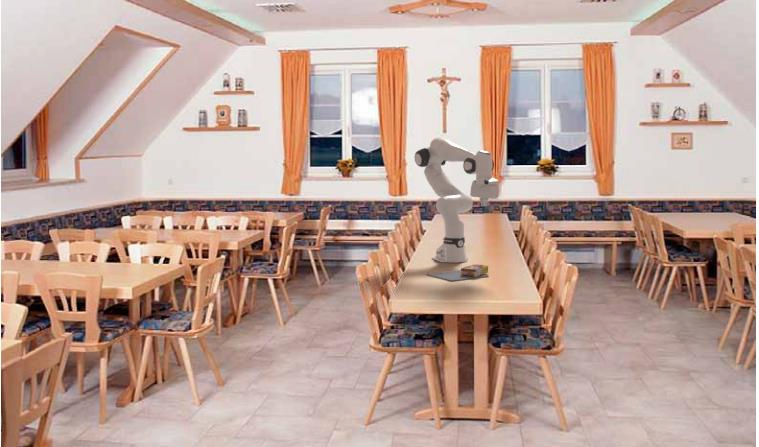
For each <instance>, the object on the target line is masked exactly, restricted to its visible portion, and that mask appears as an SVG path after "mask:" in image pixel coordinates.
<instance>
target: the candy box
mask: <svg viewBox="0 0 759 447" xmlns="http://www.w3.org/2000/svg"><path fill="white" fill-rule="evenodd" d="M460 270H461V276H471V277H477V276H480V275H487V274H488V273H489V265H486V264H475V263H473V264H470V265H467V266H464V267H461V268H460Z"/></svg>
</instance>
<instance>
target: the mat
mask: <svg viewBox="0 0 759 447" xmlns="http://www.w3.org/2000/svg"><path fill="white" fill-rule="evenodd" d="M426 276H429V277H433V278H436V279H440V280H443V281H447V282H453V283H454V282H460V281H467V280H468V281H469V280H474V279H483V278H489V275H487V274H483V275H480V276H477V277H471V276H461V269H458V270H449V271H441V272H433V273H426Z"/></svg>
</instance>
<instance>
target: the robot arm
mask: <svg viewBox="0 0 759 447" xmlns="http://www.w3.org/2000/svg"><path fill="white" fill-rule="evenodd" d="M414 162H415V163H416V165H417V166H418V167H419V168H424V170H423V173H424V175H425V178H426V180H427V182H428V184H429V186H430V187H431V188H432V190H433V191H434V193H435V194H436V196H438V197H439V198H437V200H436V203H435V208H436V211H437V212H438V213H439V214H440V215H441V217H442V219H443V222H444V235H445V236H444V237H443V238H442V240H443V243H442V244H441V245H440V246H439V247H438V248H437V249H436V251H435V255H434V256H432V257H431V259H432V260H435V261H437V262H440V263H450V264H452V263H465V262H467V260H469V258H468V257H467V249H466V245H465V243H466V242H465V241H466V239H465V224H464V223H463V221H461V219H460V217H459V214H464V213H467V212H468V211H470V210H472V209H473V204H474V202H473V199H472V197H473V198H479V202H480V206H481V207H487V206H488V202H489V200H490V199H492V200H497V199H498V198H499V192H500V190H499V180H498V179H496V178H494V177H493V173H492V172H493V170H494V169H495V162H494V159H493V156H492V153H491V152H490V151H486V150H479V151H477V152H476V153H475V152H473V151H471V150H468V149H466V148H464V147H462V146H459V145H457V144H455V143H453V142H452V141H450V140H448V139H445V138H442V137H435V138H433V139H432V140H431V142H430V145H429V146H427V147H423V148H421V149H418V150H417V151H416V152H415V153H414ZM446 162H451V163H453V162H454V163H455V162H463V163H462V164H463V166H462V168H463V170H464V172H465V173H466V174H467V175H475V180H473V181H472V182H471V185H470V193H469V195H470V196H469V195H467V194H465V193H464V192H462V191H461V190H460V189H458V188H457V187H456V186H455V185H454V184H453V183H452V182H451V180H450V178H449V177H448V176H447V175H446V173H445V172H444V171H443V169H442V166H445V165H446Z"/></svg>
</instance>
